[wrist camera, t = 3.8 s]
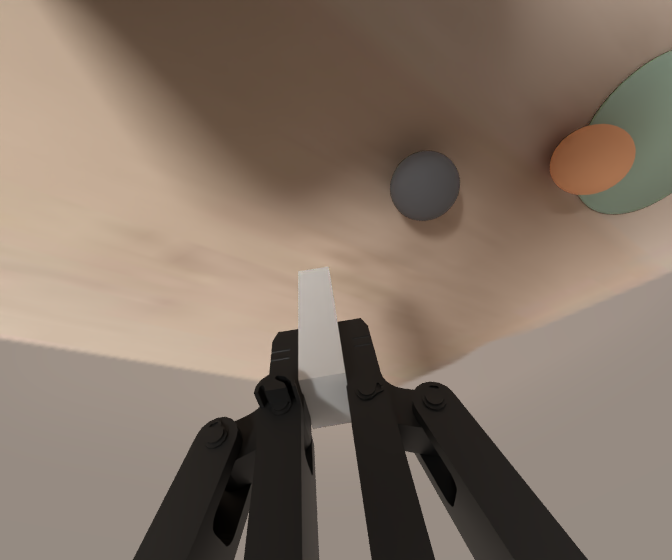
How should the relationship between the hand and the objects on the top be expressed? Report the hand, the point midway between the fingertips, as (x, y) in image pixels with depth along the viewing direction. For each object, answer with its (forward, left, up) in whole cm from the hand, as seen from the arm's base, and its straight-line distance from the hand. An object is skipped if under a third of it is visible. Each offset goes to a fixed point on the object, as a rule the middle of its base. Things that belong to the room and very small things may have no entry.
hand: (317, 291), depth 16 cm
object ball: (+24, 0, -12) cm, 26 cm away
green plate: (+32, 0, -15) cm, 35 cm away
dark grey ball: (+10, 0, -12) cm, 15 cm away
